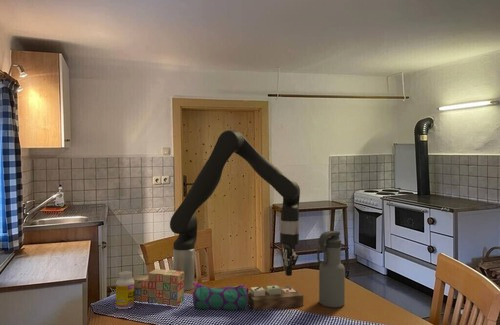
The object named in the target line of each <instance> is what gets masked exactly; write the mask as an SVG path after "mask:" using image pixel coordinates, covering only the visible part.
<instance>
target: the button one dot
mask: <svg viewBox="0 0 500 325" xmlns="http://www.w3.org/2000/svg"><path fill="white" fill-rule="evenodd" d="M279 287H280V286H278V285H277V284H276V285H266V286H265V288H266V292H267V293H268V294H269V295H277V294H281V288H279Z"/></svg>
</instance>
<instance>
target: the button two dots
mask: <svg viewBox="0 0 500 325" xmlns="http://www.w3.org/2000/svg"><path fill="white" fill-rule="evenodd" d="M294 289H295V288H294ZM294 289H292V288H287V289H282V291H283V292H284V293H285V294H288V293H296V291H295V290H294Z"/></svg>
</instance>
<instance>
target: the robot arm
mask: <svg viewBox="0 0 500 325" xmlns="http://www.w3.org/2000/svg"><path fill="white" fill-rule="evenodd" d="M234 153H235V154H236V155H238V156H240V157H241V158H243V159H244V161H246V162H247V163H248V164H249V166H250V167H251V168H252V169H253V170H254V172H255V173H256V174H257V175H258V176H260V178H261V179H263V180H264V181H265V182H266V183H268V185H270V186H271V187H272V188H273V189H274V190H275V191H276V192H277V193H278V194H279V195H280V196H281V197H282V206H281V212H280V226H279V231H280V232H279V243H280V244H281V245H282V248H280V253H281V258H282V262H283V264H284V266H285V272H284V273H285V276H288V277H291V276H293V267H295V266H296V263H297V261H298V260H299V254H296V250H297V249H296V246H297V245H299V244H300V238H299V237H300V223H299V222H300V220H299V217H300V216H299V215H300V210H299V206H300V198H301V197H300V196H301V189H300V185H299V184H298V183H297V182H295V181H292V180H290V178H288V177H287V176H285V175H284V174H283V172H282V171H281V170H280V168H278V167H277V166H275V165H274V163H272V162H270V161H269V160H268V159H267V158H266V157H264V156H263V155H262V154H261V153H260V152H259V151H257V150H256V148H254V147H253V145H252V144H250V142H249V141H248V140H247V139H246V138H245V136H244V135H243V134H242V133H241V132H240V131H238V130H234V129H231V130H225V131H223V132H221V133H220V135H219V136H218V138H217V141H216V143H215V144H214V147H213V149H212V151H211V154H210V155H209V157H208V159H207V161H206V162H205V163H204V165H203V166H202V169H201V170H200V172H198V175H197V176H196V179H195V180H194V181H193V184H192V186H191V187H190V189H189V190H188V192H187V194H186V195H185V197H184V199H183V200H182V202H181V204H180V205H179V206H178V208H177V209H176V210H175V212H174V213H173V214H172V216H171V217H170V220H169V228H170V230H171V232H172V233H173V234H176V235H178V236H177V238H176V239H175V240H174V242H173V246H172V249H173V253H172V254H173V255H172V259H173V260H172V266H171V267H172V268H171V270H176V271H182V272H184V292H185V291H190V290H193V289H195V285H194V284H193V283H194V282H195V254H196V253H195V250H196V249H195V247H196V246H195V245H196V243H197V236H198V218H197V215H196V214H195V213H196V211H197V210H198V209H200V207H201V206H202V205H203V204H204V203H205V202H206V201H207V200H209V198H210V197H211V196H212V195H213V193H214V192H215V190H216V189H217V187H218V186H219V184H220V181H221V178H222V174H223V170H224V167H225V165H226V164H227V162H228V161H229V159H230V158H231V156H232V155H233V154H234Z"/></svg>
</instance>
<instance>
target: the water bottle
mask: <svg viewBox="0 0 500 325" xmlns="http://www.w3.org/2000/svg"><path fill="white" fill-rule="evenodd" d="M340 235H341V231H338V230H329V231H324V232H322V233H321V234H320V236H319V238H318V245H319V246H320V247H319V249H317V251H316V252H317V255H316V260H317V262H319V263H320V264H319V268H318V269H319V270H318V273H319V274H318V277H319V278H318V280H319V281H318V302H319V303H320V305H322V306H323V307H326V308H332V309H333V308H341V307H343V306H344V305H345V302H346V301H345V298H346V296H345V292H346V290H345V289H346V288H345V287H346V286H345V285H346V283H345V282H346V280H345V279H346V278H345V276H346V274H345V272H346V268H345V265H344V264H343V263H341V256H342V255H341V254H342V253H341V249H342V240H341V239H340ZM320 252H322V253H323V261H322V260H321V259H320Z"/></svg>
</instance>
